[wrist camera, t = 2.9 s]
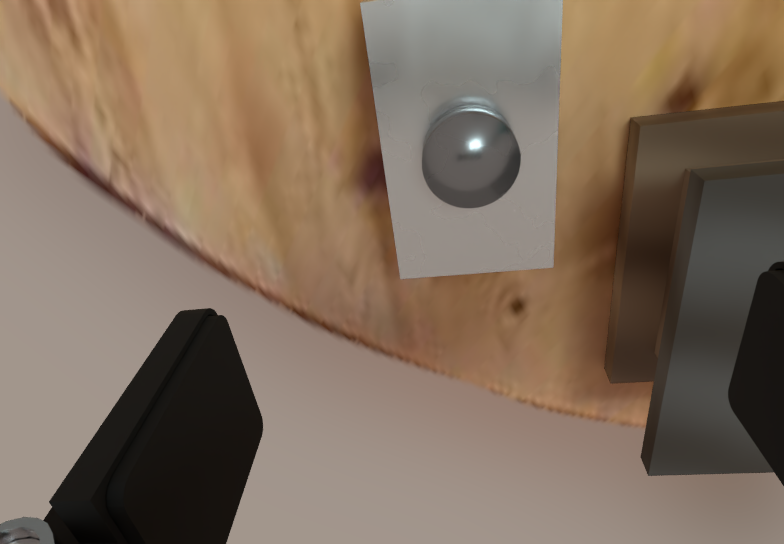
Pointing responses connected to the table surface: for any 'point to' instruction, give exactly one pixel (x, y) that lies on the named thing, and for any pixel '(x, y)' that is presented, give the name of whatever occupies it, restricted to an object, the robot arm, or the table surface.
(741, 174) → the stand
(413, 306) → the table surface
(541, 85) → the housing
